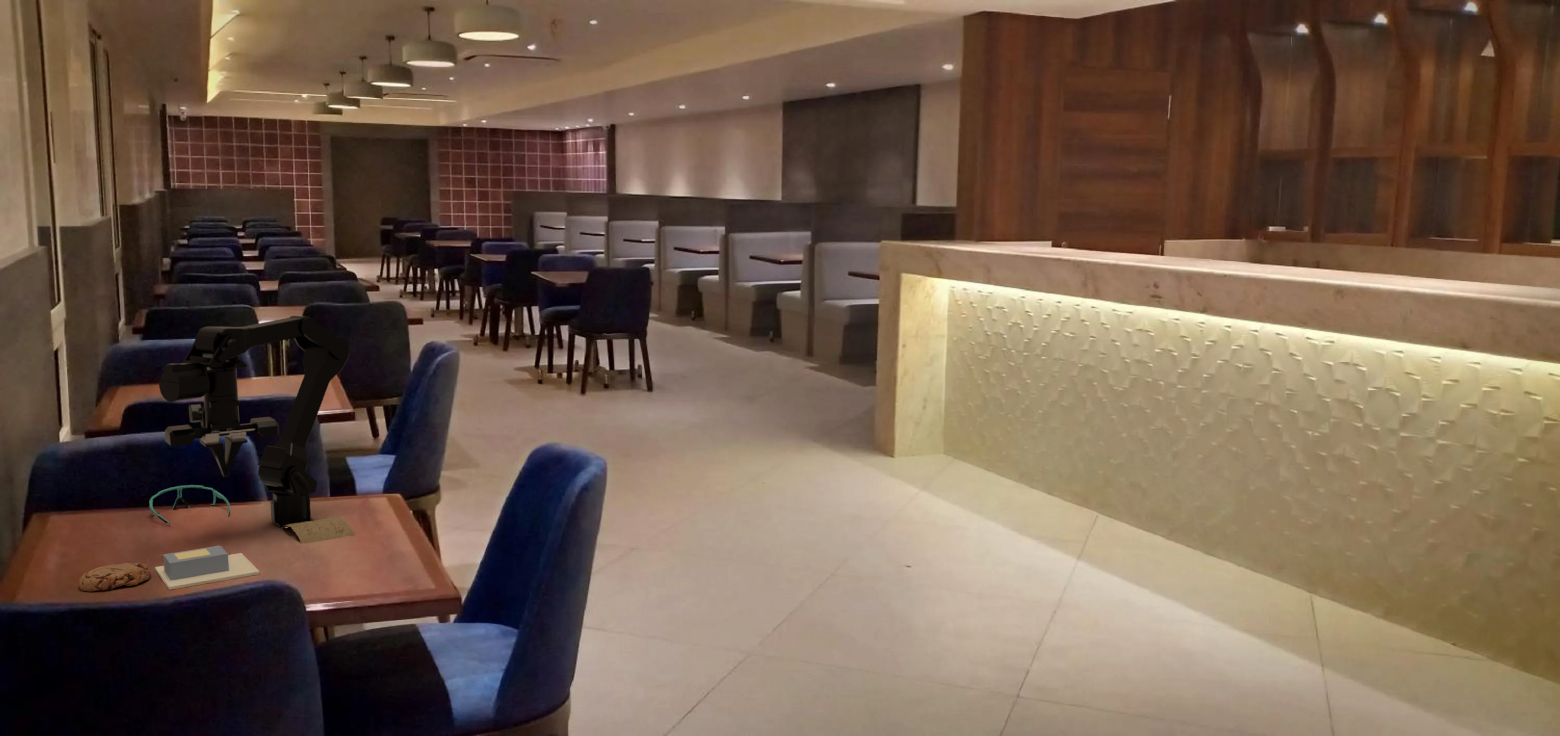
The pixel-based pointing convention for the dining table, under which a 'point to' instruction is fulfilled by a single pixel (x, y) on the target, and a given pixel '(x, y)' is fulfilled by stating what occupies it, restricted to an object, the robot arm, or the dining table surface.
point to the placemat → (237, 569)
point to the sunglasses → (183, 498)
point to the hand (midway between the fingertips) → (225, 475)
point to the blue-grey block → (195, 562)
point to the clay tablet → (321, 529)
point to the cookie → (114, 576)
